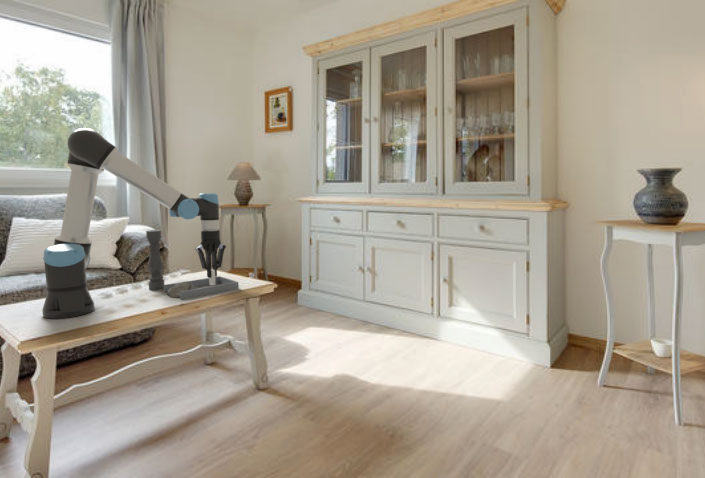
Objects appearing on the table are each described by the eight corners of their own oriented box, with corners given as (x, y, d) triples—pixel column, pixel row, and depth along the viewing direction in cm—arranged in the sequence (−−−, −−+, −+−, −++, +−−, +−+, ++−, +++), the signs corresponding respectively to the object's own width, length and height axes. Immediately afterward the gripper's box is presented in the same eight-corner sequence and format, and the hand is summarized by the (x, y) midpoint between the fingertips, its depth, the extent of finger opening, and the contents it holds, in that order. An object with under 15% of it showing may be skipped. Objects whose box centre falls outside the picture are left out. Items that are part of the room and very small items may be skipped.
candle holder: (167, 286, 188) (164, 229, 185) (159, 290, 182) (156, 231, 179) (154, 286, 188) (150, 229, 185) (145, 290, 182) (142, 231, 179)
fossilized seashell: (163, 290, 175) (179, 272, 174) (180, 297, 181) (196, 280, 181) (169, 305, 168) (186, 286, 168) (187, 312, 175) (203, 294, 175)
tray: (181, 299, 167) (180, 291, 167) (164, 291, 179) (164, 284, 179) (238, 288, 184) (238, 281, 184) (220, 282, 196) (219, 276, 196)
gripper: (220, 228, 189) (222, 280, 192) (191, 230, 180) (193, 285, 183) (228, 229, 184) (230, 283, 187) (199, 231, 175) (201, 288, 177)
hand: (212, 284), depth 185 cm, fingers closed
